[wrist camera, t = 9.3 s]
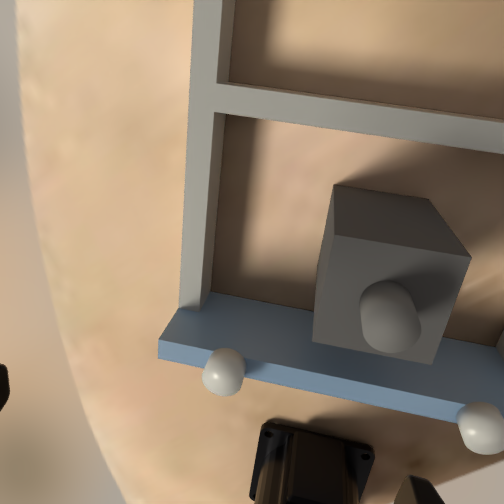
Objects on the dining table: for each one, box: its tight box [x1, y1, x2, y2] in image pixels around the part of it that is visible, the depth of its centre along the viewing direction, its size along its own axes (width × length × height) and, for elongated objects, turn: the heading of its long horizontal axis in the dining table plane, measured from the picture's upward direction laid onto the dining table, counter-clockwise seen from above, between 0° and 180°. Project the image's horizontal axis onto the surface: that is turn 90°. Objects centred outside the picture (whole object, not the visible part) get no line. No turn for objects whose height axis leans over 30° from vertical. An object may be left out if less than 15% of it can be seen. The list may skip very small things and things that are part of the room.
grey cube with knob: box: [312, 185, 472, 365], centre depth 15 cm, size 4×4×8 cm
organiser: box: [158, 0, 504, 455], centre depth 14 cm, size 22×16×6 cm
